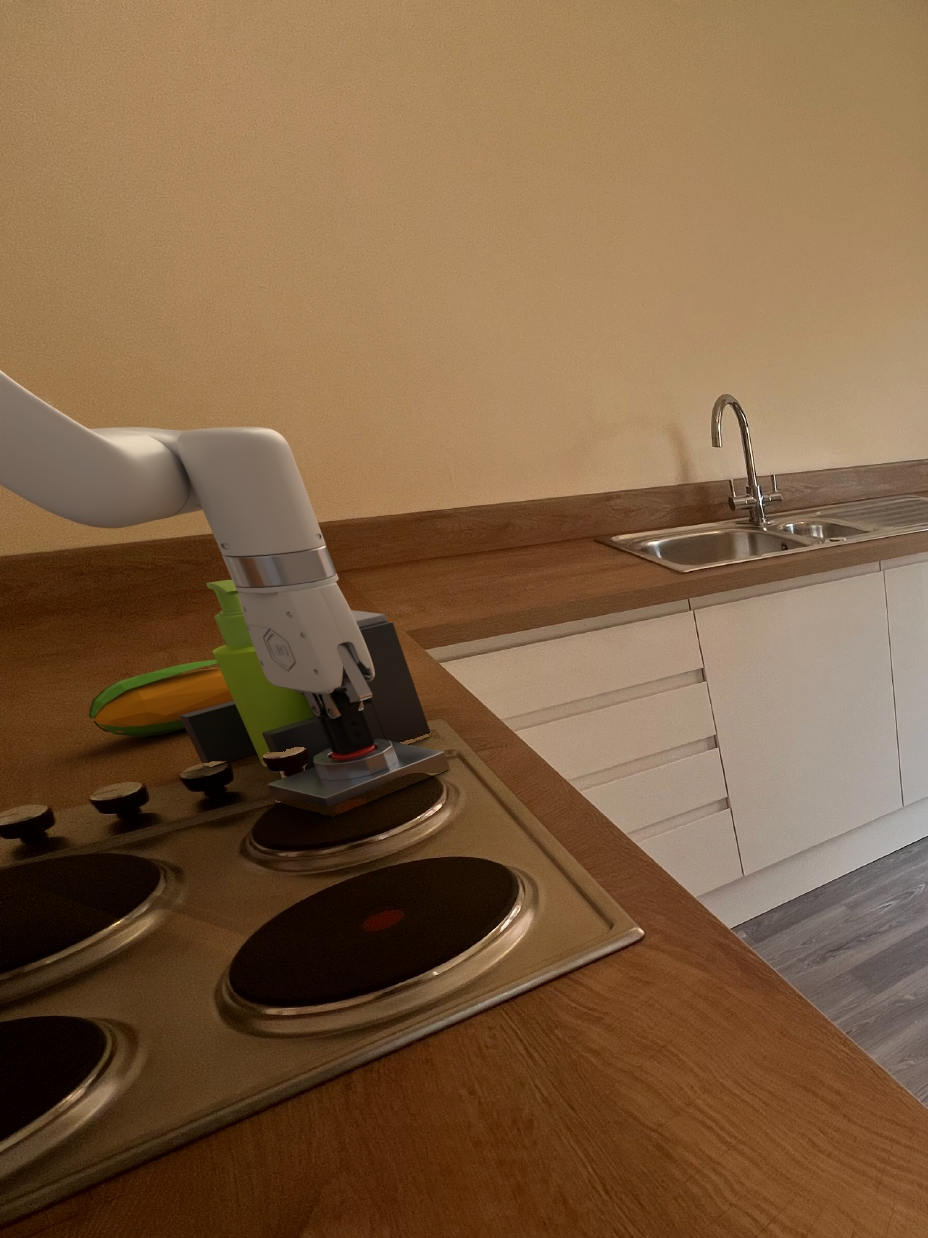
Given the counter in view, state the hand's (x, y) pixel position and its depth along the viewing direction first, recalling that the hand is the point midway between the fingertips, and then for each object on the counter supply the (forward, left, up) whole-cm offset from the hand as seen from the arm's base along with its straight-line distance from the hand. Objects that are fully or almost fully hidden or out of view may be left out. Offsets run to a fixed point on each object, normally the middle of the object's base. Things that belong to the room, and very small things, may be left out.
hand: (354, 748), depth 86 cm
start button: (0, 0, -2) cm, 2 cm away
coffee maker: (+4, +15, -4) cm, 16 cm away
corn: (+6, +40, -4) cm, 41 cm away
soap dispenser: (+2, +15, -4) cm, 16 cm away
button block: (0, 0, -4) cm, 4 cm away
